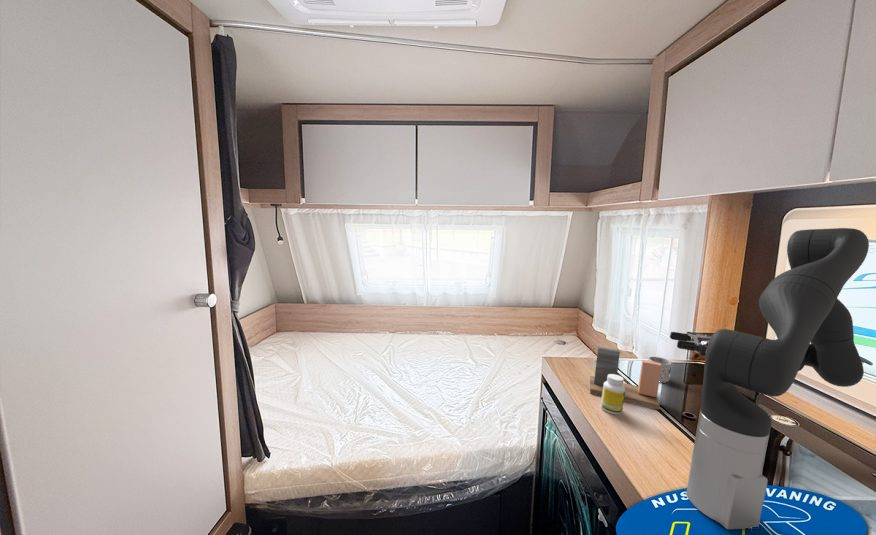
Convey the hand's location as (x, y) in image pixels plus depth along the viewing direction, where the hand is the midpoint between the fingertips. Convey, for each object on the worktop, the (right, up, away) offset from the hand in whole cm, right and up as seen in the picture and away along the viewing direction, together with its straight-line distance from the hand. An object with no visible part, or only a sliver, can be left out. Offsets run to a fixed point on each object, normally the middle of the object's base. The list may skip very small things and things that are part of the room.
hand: (673, 339), depth 93 cm
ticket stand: (-11, -19, +7) cm, 23 cm away
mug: (+9, -18, +21) cm, 29 cm away
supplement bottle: (-19, -20, -2) cm, 28 cm away
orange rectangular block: (-5, -18, +4) cm, 19 cm away
